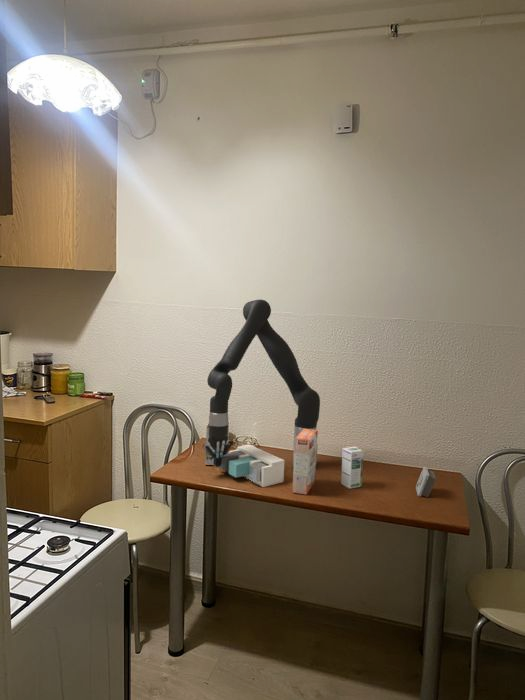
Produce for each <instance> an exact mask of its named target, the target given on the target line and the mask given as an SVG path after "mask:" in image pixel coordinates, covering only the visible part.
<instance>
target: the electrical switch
mask: <svg viewBox="0 0 525 700" xmlns="http://www.w3.org/2000/svg"><path fill="white" fill-rule="evenodd" d="M436 480H437V478H436V475H435V472H434V471H433V470H430V469H428V467H427V466H423V468H422V470H421V472H420V475H419V477H418V480H417V483H416V484H415V491H416V493H417V494H416V495H417V496H418V497H420V498H421V497H422V496H423V497H426V498H429V496H430V495H431V492H432V490H433V487H434V485H435V482H436Z"/></svg>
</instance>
